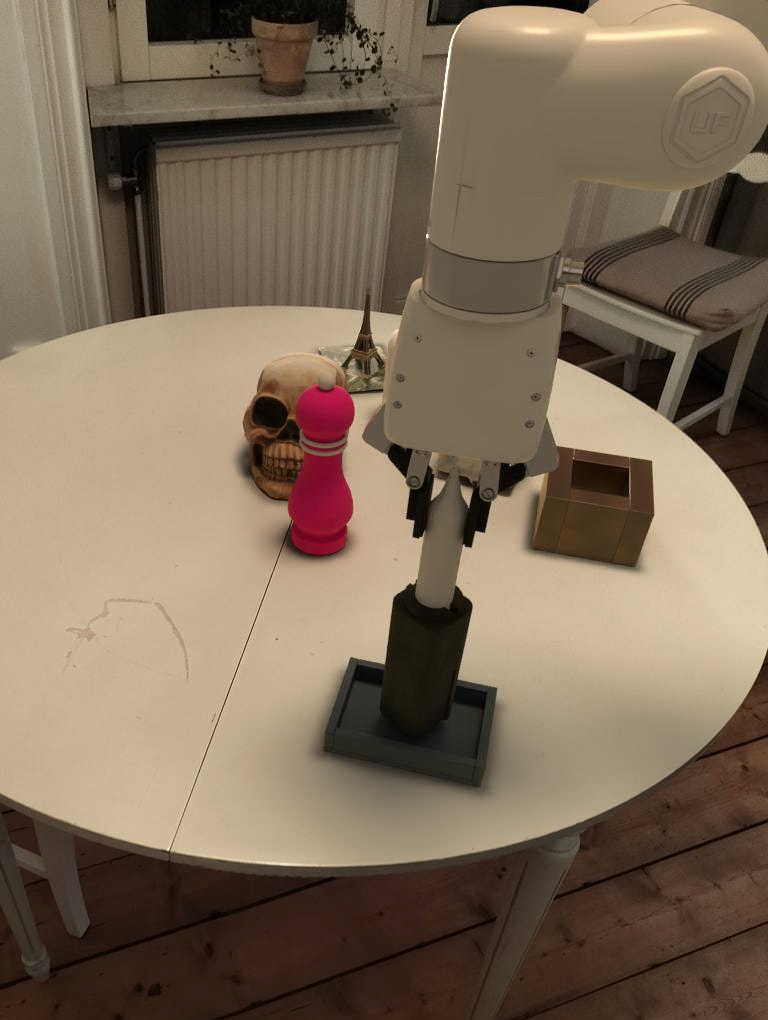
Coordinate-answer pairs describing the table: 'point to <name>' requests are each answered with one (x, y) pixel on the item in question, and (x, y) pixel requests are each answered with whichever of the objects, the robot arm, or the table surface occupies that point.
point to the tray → (373, 737)
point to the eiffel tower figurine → (360, 357)
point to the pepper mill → (322, 469)
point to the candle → (429, 623)
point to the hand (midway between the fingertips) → (444, 530)
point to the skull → (282, 418)
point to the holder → (595, 506)
